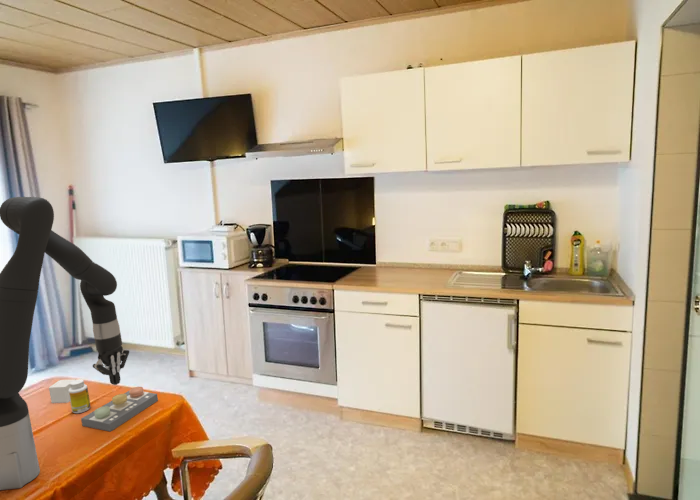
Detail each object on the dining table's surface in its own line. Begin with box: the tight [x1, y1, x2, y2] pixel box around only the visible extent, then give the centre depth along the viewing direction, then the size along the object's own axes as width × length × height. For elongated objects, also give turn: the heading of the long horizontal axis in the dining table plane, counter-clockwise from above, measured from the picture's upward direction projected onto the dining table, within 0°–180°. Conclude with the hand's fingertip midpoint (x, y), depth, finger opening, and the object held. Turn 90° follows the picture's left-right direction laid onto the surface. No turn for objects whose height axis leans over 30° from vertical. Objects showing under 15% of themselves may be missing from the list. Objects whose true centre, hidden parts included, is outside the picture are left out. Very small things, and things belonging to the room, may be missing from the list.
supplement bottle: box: [69, 378, 91, 414], centre depth 158 cm, size 6×6×10 cm
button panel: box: [80, 390, 159, 433], centre depth 156 cm, size 20×12×3 cm, turn 159°
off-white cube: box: [48, 378, 77, 404], centre depth 168 cm, size 6×6×6 cm
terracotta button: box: [128, 386, 145, 397], centre depth 162 cm, size 4×4×2 cm
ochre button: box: [111, 393, 127, 405], centre depth 155 cm, size 4×4×2 cm
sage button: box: [93, 405, 110, 418], centre depth 149 cm, size 4×4×2 cm
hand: (115, 383), depth 153 cm, fingers closed
